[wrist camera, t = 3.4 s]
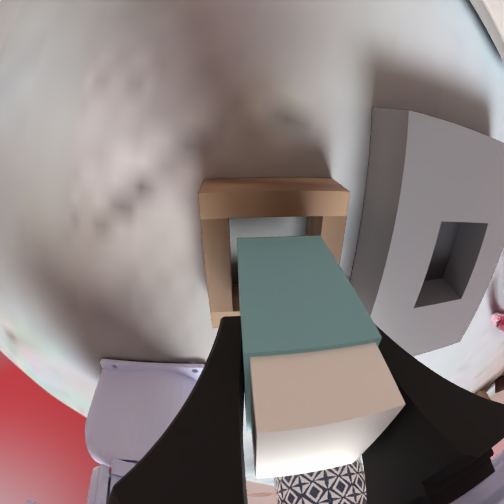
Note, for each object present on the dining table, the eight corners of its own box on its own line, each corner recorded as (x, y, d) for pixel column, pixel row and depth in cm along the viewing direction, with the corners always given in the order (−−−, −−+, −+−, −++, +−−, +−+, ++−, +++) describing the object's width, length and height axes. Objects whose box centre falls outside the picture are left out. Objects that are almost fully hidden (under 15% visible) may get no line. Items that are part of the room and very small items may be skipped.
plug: (240, 320, 13) (251, 479, 6) (236, 238, 11) (248, 430, 4) (309, 316, 14) (355, 463, 7) (320, 235, 11) (413, 399, 4)
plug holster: (214, 300, 17) (212, 328, 15) (204, 179, 14) (198, 193, 11) (317, 295, 18) (328, 320, 15) (331, 178, 14) (349, 191, 12)
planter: (254, 469, 37) (261, 537, 24) (334, 442, 33) (353, 521, 20) (302, 476, 43) (311, 530, 31) (369, 451, 39) (386, 509, 26)
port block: (336, 335, 20) (351, 372, 16) (372, 107, 12) (411, 110, 9) (441, 316, 20) (460, 343, 17) (490, 141, 13) (526, 153, 9)
